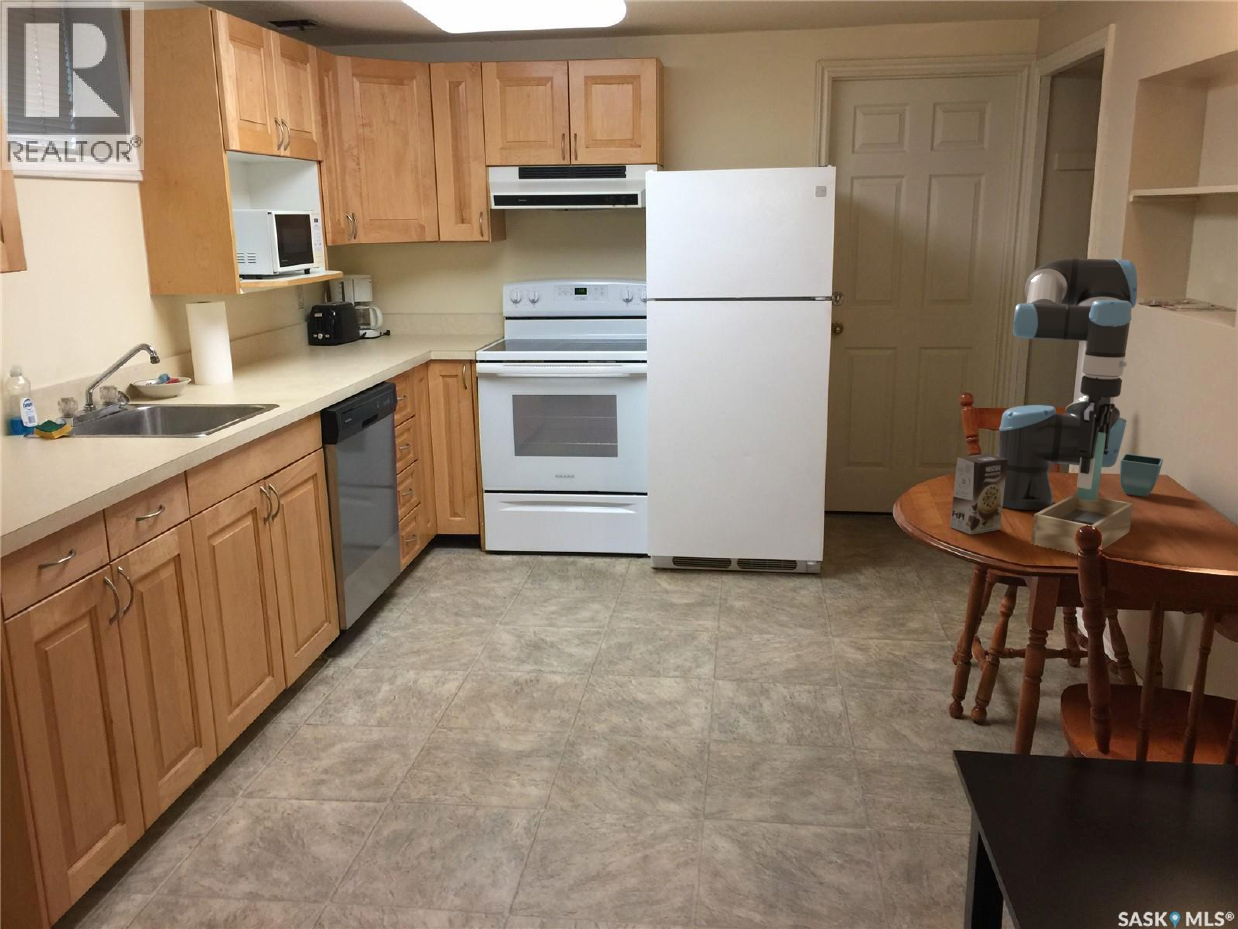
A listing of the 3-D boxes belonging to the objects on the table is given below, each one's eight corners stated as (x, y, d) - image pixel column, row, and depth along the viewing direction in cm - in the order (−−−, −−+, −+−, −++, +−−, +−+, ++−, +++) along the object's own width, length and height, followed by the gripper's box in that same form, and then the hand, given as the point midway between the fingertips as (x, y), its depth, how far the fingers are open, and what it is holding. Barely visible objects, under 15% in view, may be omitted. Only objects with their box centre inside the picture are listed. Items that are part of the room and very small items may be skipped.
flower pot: (1158, 492, 248) (1163, 457, 246) (1155, 500, 241) (1160, 465, 239) (1119, 487, 253) (1124, 453, 250) (1115, 495, 245) (1120, 460, 243)
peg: (1073, 497, 209) (1081, 432, 206) (1080, 494, 212) (1088, 430, 209) (1093, 501, 206) (1102, 435, 203) (1100, 497, 209) (1108, 433, 206)
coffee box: (971, 535, 213) (978, 462, 209) (949, 527, 218) (955, 456, 214) (1001, 530, 217) (1009, 458, 213) (978, 522, 222) (986, 452, 218)
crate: (1030, 544, 207) (1034, 514, 206) (1072, 520, 224) (1076, 492, 222) (1090, 557, 199) (1094, 527, 198) (1129, 532, 216) (1133, 503, 214)
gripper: (1107, 382, 195) (1092, 496, 200) (1135, 374, 207) (1120, 482, 212) (1068, 378, 200) (1054, 489, 205) (1097, 370, 212) (1084, 475, 217)
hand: (1087, 485), depth 209 cm, fingers closed on peg, 4 cm apart
